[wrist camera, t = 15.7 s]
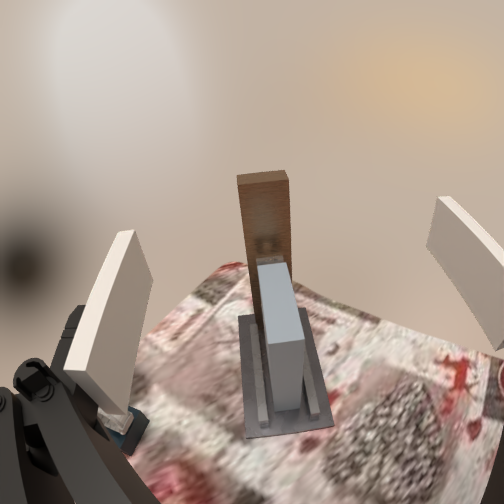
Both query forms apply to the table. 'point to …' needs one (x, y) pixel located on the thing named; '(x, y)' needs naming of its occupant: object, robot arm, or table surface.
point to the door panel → (282, 335)
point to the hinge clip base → (252, 326)
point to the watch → (125, 428)
